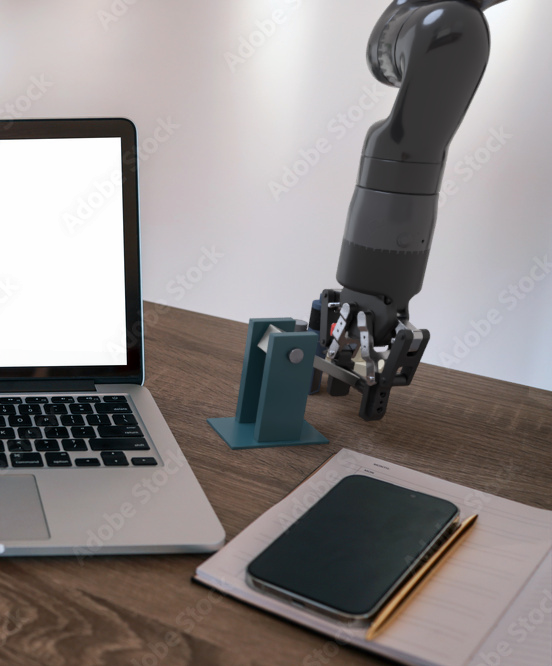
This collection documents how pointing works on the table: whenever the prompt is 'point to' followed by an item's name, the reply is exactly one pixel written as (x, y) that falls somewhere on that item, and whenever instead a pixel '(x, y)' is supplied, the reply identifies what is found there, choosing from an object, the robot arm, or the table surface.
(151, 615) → the table surface
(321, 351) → the vaping device
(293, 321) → the bracket
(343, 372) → the lever
